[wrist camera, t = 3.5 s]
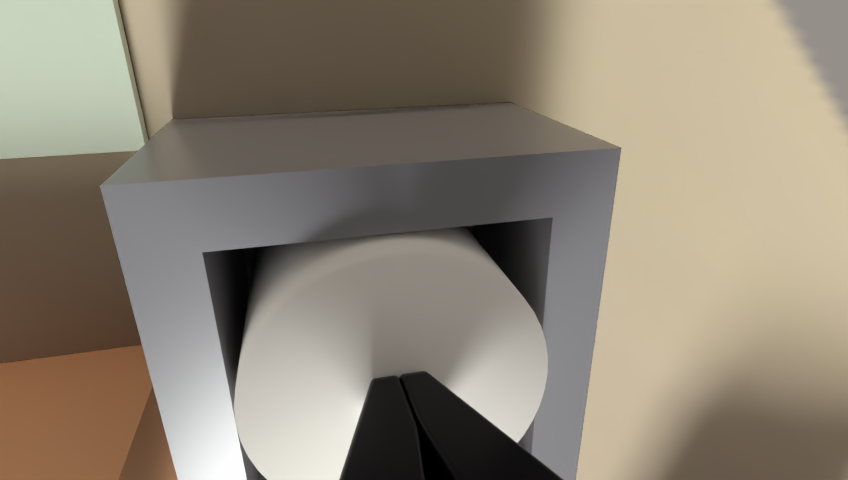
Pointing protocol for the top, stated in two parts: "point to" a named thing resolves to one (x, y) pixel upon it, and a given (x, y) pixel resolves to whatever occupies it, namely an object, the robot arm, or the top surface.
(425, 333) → the white rounded piece
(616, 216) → the top surface
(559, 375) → the well
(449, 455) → the robot arm
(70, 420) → the cube
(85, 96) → the pad
